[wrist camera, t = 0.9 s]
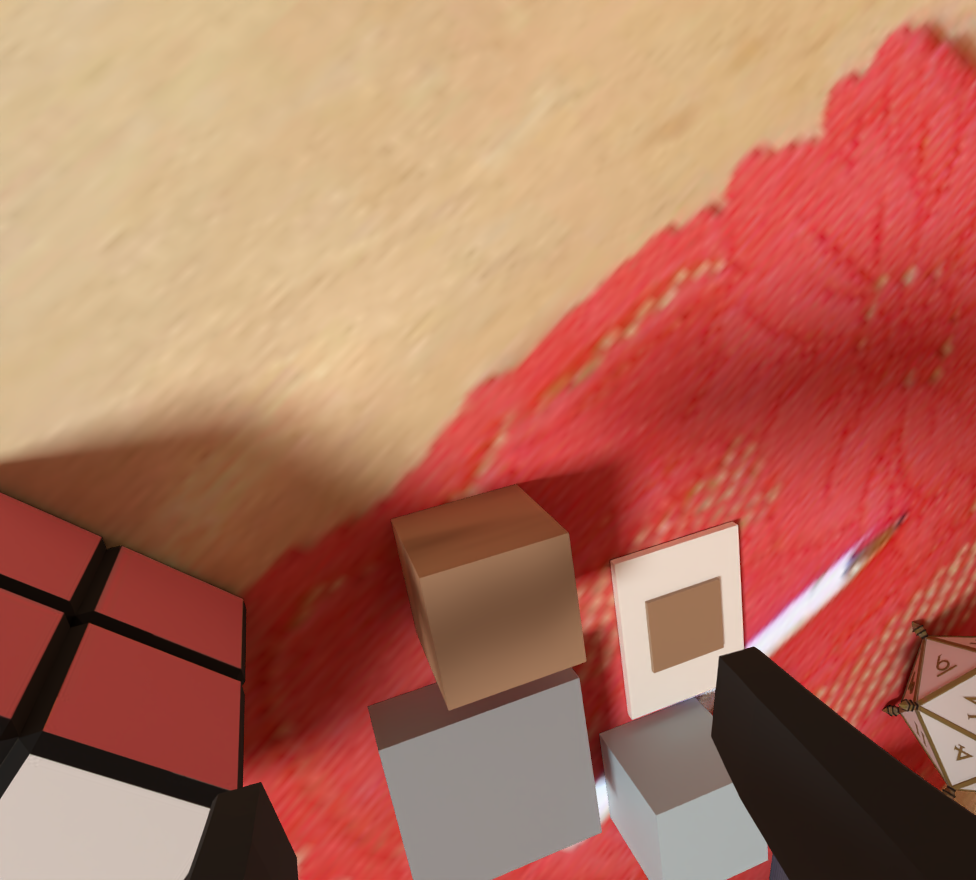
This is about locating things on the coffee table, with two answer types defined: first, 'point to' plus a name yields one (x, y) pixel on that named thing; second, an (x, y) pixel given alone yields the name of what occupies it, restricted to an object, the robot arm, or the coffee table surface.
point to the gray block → (678, 797)
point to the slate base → (488, 777)
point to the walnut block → (490, 593)
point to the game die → (944, 706)
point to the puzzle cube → (110, 705)
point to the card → (677, 616)
